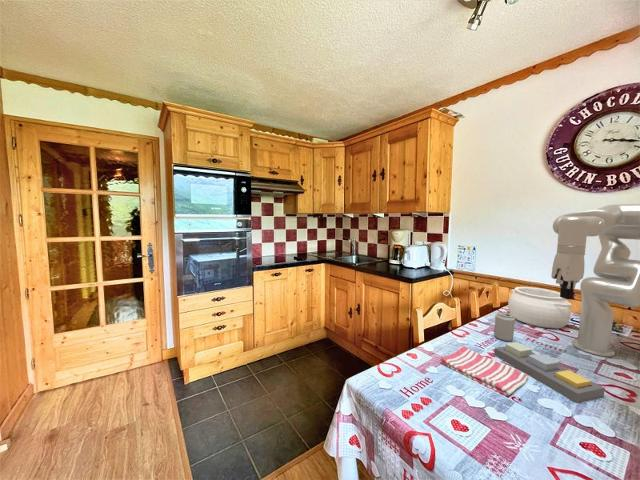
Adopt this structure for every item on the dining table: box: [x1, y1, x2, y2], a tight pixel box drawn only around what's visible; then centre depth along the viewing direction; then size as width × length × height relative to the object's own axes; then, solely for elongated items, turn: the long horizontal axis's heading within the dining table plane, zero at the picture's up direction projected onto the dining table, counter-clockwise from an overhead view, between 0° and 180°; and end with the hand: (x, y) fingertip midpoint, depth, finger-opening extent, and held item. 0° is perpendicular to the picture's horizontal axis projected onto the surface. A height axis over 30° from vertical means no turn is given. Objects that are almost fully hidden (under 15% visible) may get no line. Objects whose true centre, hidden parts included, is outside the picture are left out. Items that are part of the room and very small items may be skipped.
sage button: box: [504, 341, 533, 358], centre depth 101 cm, size 6×6×3 cm
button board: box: [493, 346, 606, 403], centre depth 93 cm, size 12×28×3 cm, turn 14°
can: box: [493, 311, 516, 342], centre depth 120 cm, size 8×8×12 cm
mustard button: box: [555, 369, 592, 389], centre depth 84 cm, size 6×6×3 cm
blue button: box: [528, 353, 560, 372], centre depth 93 cm, size 6×6×3 cm
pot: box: [507, 286, 572, 329], centre depth 141 cm, size 29×26×16 cm
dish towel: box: [440, 345, 529, 397], centre depth 94 cm, size 17×23×4 cm
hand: (566, 298), depth 96 cm, fingers closed
